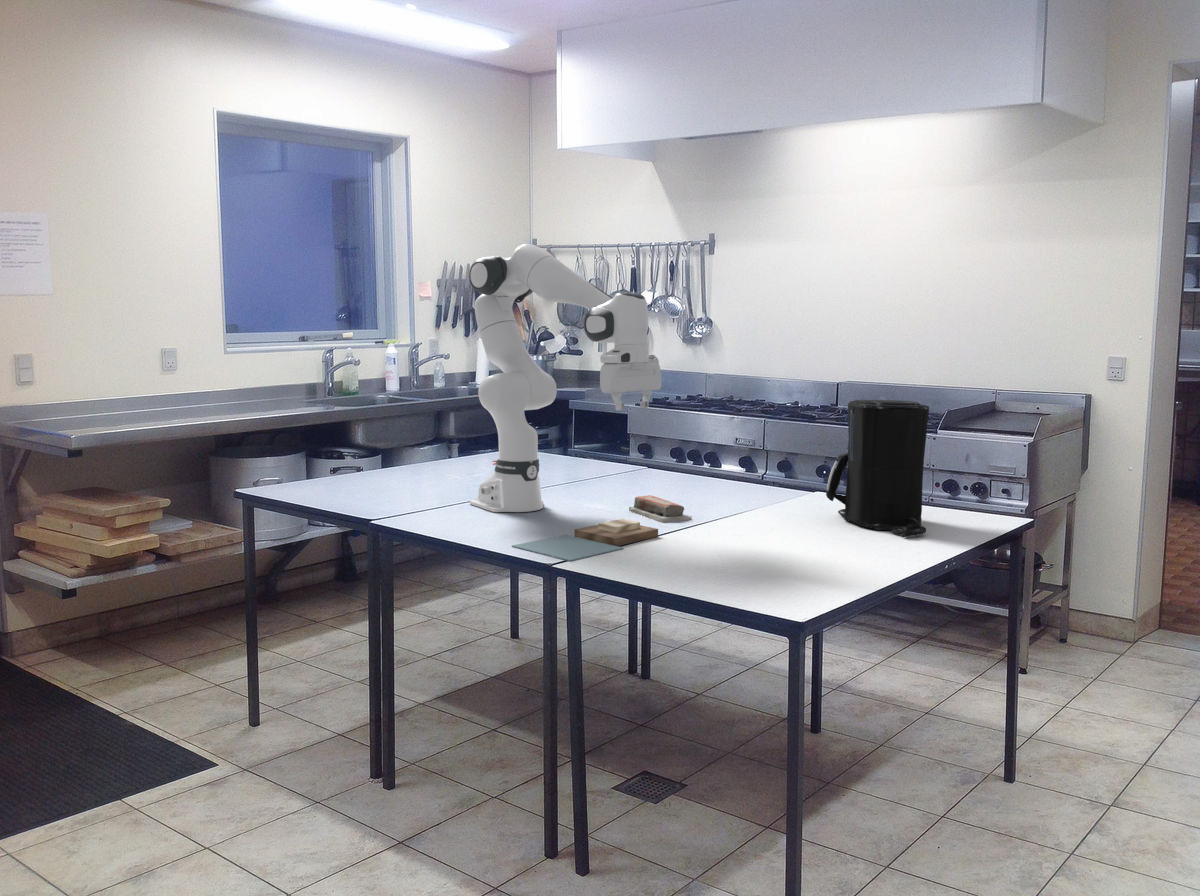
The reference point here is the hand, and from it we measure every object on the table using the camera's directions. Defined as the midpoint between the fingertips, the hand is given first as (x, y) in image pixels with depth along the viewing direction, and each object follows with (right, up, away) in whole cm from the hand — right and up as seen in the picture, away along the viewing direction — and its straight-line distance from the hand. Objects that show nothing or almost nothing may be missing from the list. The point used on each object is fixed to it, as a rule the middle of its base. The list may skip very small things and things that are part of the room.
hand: (632, 409), depth 269 cm
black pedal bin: (+66, -31, +14) cm, 74 cm away
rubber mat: (-16, -34, -19) cm, 42 cm away
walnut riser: (-4, -33, -6) cm, 33 cm away
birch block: (-3, -30, -6) cm, 31 cm away
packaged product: (+8, -30, +22) cm, 38 cm away
